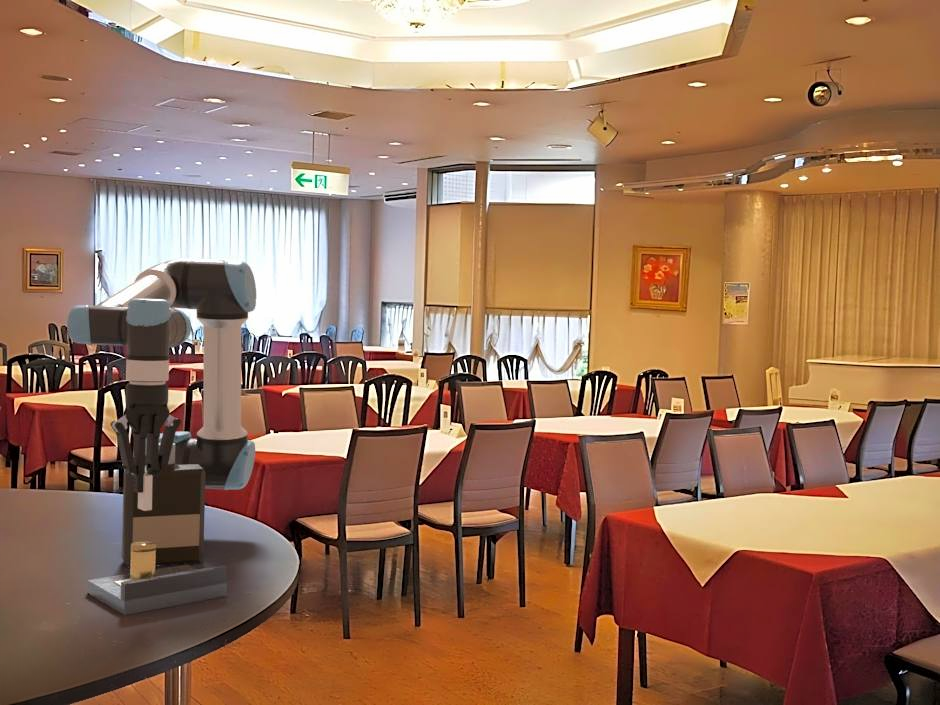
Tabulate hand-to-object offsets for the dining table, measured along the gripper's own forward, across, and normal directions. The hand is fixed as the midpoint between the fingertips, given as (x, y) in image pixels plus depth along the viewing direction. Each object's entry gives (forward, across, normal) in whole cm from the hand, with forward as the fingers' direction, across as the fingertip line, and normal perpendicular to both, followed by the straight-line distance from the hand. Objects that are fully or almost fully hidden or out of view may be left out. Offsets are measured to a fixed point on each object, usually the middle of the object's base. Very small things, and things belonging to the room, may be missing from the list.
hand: (144, 508), depth 188 cm
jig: (+17, -2, +1) cm, 17 cm away
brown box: (+17, -14, -20) cm, 30 cm away
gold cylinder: (+17, 0, +1) cm, 17 cm away
